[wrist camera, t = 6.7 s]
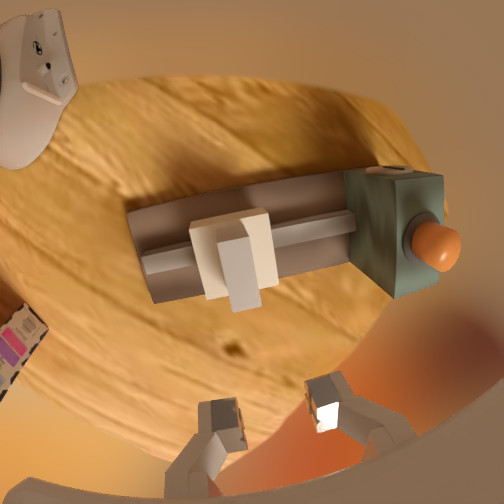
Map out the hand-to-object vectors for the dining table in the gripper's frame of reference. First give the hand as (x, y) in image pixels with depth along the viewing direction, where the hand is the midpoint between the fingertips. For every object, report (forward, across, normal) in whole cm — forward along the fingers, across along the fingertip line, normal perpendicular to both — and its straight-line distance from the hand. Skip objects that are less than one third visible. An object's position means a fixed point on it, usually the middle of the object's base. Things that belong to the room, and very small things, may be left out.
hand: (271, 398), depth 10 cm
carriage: (+21, 0, 0) cm, 21 cm away
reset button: (+11, -16, 0) cm, 20 cm away
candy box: (+23, +36, +8) cm, 44 cm away
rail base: (+23, -4, 0) cm, 23 cm away
